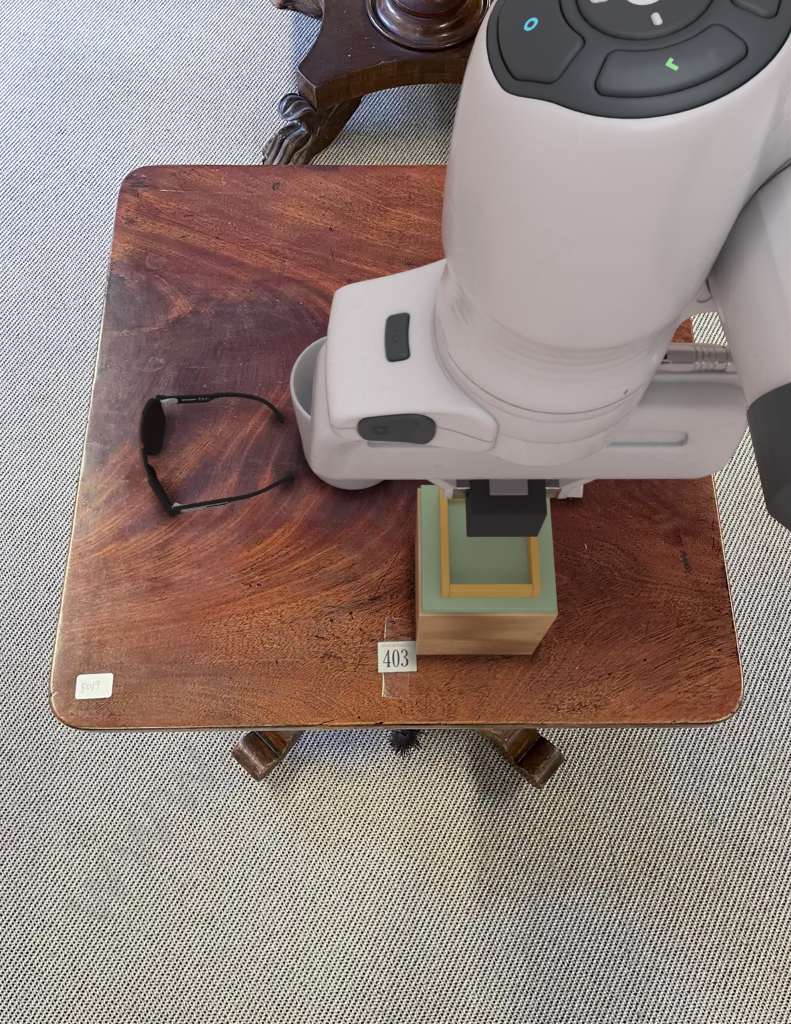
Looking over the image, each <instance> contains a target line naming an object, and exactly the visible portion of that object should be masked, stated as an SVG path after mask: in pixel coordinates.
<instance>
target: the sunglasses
mask: <svg viewBox="0 0 791 1024" xmlns="http://www.w3.org/2000/svg"><path fill="white" fill-rule="evenodd" d="M219 398H240V399H248V400H251V401H252V400H253V401H256V402H260V403H262V404H264V405H265V406H267V407H268V408H269V409H270V410H271V411H272V412H273V413H274V415H275V417H276V419H277V420H278V421H279V422H284V420H285V416H284V415H283V414H282V412H280V410H279V409H278V408H277V407H276V406H275V405H274V404H272V403H271V402H270V401H269V400H267V399H265V398H263V397H261V396H257V395H254V394H250V393H245V392H235V391H233V392H230V391H229V392H227V391H226V392H225V391H224V392H214V393H204V394H203V393H202V394H180V395H179V394H178V395H164V394H156V395H155V397H151V398H149V399H148V400H147V401H146V403H145V405H144V407H143V409H142V411H141V414H140V418H139V423H138V431H137V432H138V436H137V437H138V448H139V456H140V463H141V467H142V470H143V474H144V476H145V479H146V481H147V482H148V484H149V486H150V488H151V490H152V491H153V493H154V495H155V496H156V497H157V499H158V500H159V502H160V503H161V505H162V506H163V508H164V509H165V510H166V511H167V513H168V514H169V515H170V516H171V518H173V519H174V518H175V517H176V516H177V515H181V514H182V515H183V514H185V513H189V512H194V511H201V510H206V509H211V508H213V509H214V508H217V507H223V506H226V505H228V504H230V503H233V502H237V501H243V500H247V499H251V498H254V497H257V496H259V495H262V494H264V493H266V492H268V491H270V490H272V489H274V488H276V487H278V486H280V485H282V484H285V483H290V482H291V481H293V479H294V478H295V475H293V474H289V475H287V476H285V477H283V478H280V479H278V480H277V481H275V482H273V483H271V484H269V485H266V486H265V487H262V488H260V489H259V490H256V491H252V492H250V493H245V494H240V495H236V496H229V497H228V496H227V497H222V498H217V499H216V498H215V499H211V500H210V499H209V500H205V501H204V500H203V501H199V502H193V503H185V504H182V503H181V504H180V503H178V502H174V503H173V505H172V504H171V503H172V502H171V501H170V499H169V497H168V494H167V492H166V490H165V488H164V486H163V485H162V483H161V481H160V480H159V478H158V474H157V471H156V469H155V468H154V466H153V465H151V464H150V463H149V458H148V457H150V456H157V455H158V454H159V453H160V452H161V451H162V447H163V443H164V436H165V430H166V423H167V418H166V414H165V411H164V408H163V406H164V407H165V408H166V407H167V406H169V405H182V404H183V405H186V404H204V403H210V402H211V401H213V400H215V399H219Z"/></svg>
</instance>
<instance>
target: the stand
mask: <svg viewBox="0 0 791 1024" xmlns="http://www.w3.org/2000/svg"><path fill="white" fill-rule="evenodd" d="M416 494H417V495H416V513H415V516H416V517H415V535H414V536H415V538H414V568H415V569H414V570H415V571H414V574H415V575H414V577H415V578H414V583H415V584H414V585H415V586H414V587H415V588H414V589H415V590H414V591H415V655H416V656H418V655H419V656H423V655H424V656H427V655H428V656H430V655H431V656H433V655H436V656H437V655H438V656H439V655H441V656H443V655H444V656H445V655H455V656H456V655H457V656H458V655H459V656H460V655H461V656H462V655H463V656H464V655H465V656H467V655H468V656H469V655H470V656H472V655H477V656H478V655H479V656H480V655H483V656H484V655H486V656H487V655H489V656H490V655H495V656H497V655H533V654H534V652H535V650H536V649H537V647H538V646H539V644H540V643H541V641H542V640H543V639H544V637H545V635H546V634H547V633H548V631H549V630H550V627H552V625H553V624H554V622H555V620H556V619H557V617H558V616H559V611H558V610H559V609H558V608H557V609H556V611H555V612H422V570H421V487H418V488H417V492H416ZM549 500H550V501H551V498H549ZM550 514H551V515H552V513H551V510H550ZM552 526H553V525H552V524H551V528H552V529H553V527H552ZM552 542H553V543H554V541H553V538H552ZM553 556H554V557H555V554H554V552H553ZM555 567H556V566H554V570H555V569H556V568H555ZM555 571H556V570H555ZM556 582H557V581H556V580H555V584H556ZM556 598H557V599H558V595H557V594H556Z"/></svg>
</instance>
